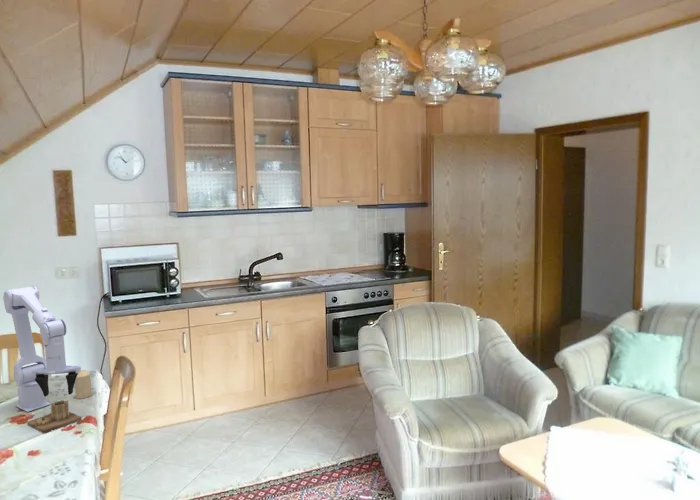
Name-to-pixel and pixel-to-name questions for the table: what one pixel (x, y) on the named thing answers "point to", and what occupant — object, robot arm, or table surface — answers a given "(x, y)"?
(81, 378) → the candle
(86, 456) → the table surface
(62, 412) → the maple gear
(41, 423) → the gear board
